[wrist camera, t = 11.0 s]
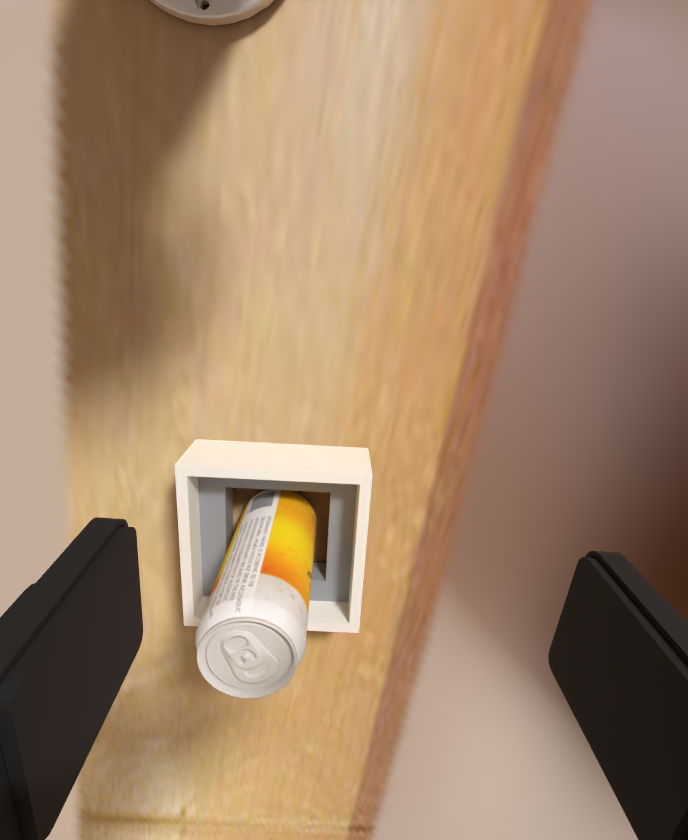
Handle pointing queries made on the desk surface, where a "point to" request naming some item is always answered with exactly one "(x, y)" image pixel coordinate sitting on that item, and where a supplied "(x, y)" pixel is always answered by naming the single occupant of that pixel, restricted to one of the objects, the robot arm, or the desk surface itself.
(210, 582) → the socket box
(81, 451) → the desk surface
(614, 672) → the robot arm
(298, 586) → the beer can
